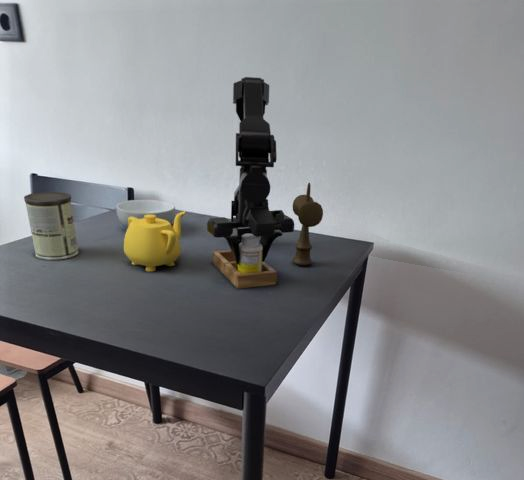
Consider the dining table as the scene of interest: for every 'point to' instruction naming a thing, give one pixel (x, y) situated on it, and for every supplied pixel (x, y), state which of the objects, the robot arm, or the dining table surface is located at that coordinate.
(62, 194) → the coffee can
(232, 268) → the caddy
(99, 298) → the dining table surface
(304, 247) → the kendama
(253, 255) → the supplement bottle
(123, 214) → the cereal bowl
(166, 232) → the teapot
